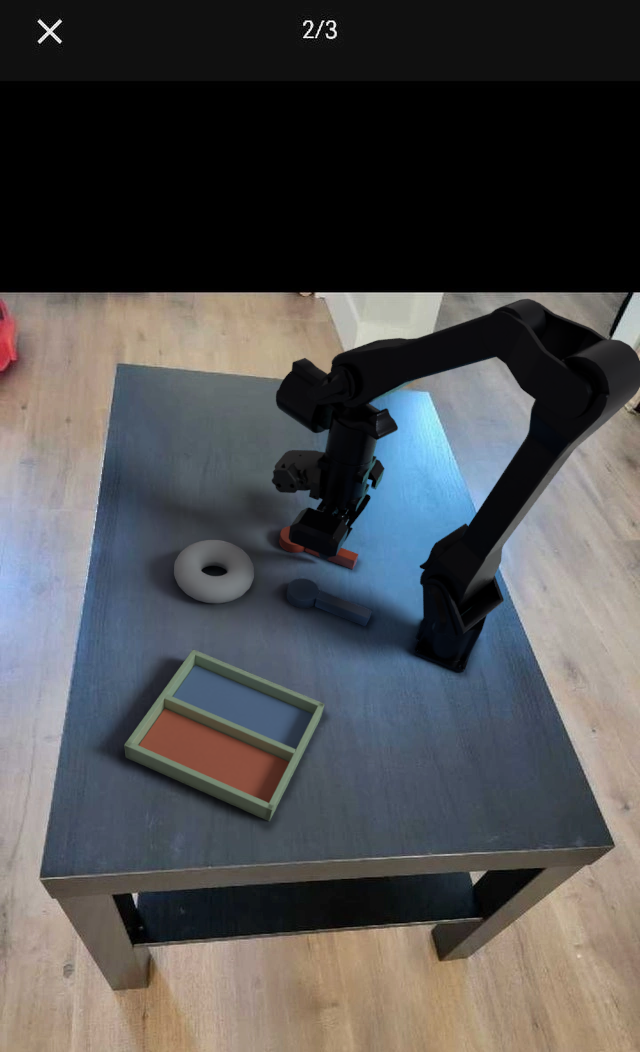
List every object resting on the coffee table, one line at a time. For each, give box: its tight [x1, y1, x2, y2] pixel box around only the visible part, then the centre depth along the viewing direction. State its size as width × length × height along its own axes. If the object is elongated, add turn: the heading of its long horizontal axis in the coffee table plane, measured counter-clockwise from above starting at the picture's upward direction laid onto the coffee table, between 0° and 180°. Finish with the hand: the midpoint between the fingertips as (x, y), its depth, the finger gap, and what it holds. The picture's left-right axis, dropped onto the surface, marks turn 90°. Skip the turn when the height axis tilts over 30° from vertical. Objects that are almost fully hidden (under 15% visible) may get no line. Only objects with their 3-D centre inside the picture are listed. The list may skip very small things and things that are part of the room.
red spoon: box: [278, 525, 359, 570], centre depth 93 cm, size 11×4×2 cm, turn 68°
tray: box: [123, 649, 325, 822], centre depth 72 cm, size 16×14×2 cm
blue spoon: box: [286, 577, 372, 627], centre depth 86 cm, size 11×4×2 cm, turn 68°
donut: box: [173, 539, 255, 604], centre depth 86 cm, size 10×4×10 cm
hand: (328, 550), depth 92 cm, fingers open, 3 cm apart
